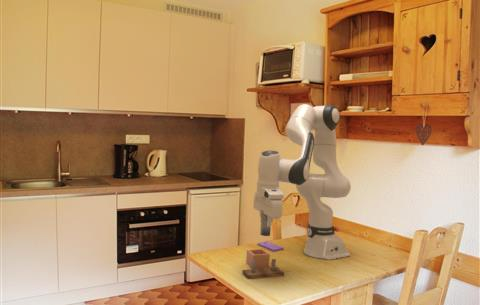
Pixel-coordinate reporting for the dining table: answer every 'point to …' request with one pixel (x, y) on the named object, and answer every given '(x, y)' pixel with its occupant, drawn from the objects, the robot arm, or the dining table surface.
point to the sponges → (270, 246)
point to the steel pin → (264, 225)
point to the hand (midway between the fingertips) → (265, 224)
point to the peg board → (262, 271)
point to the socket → (258, 258)
